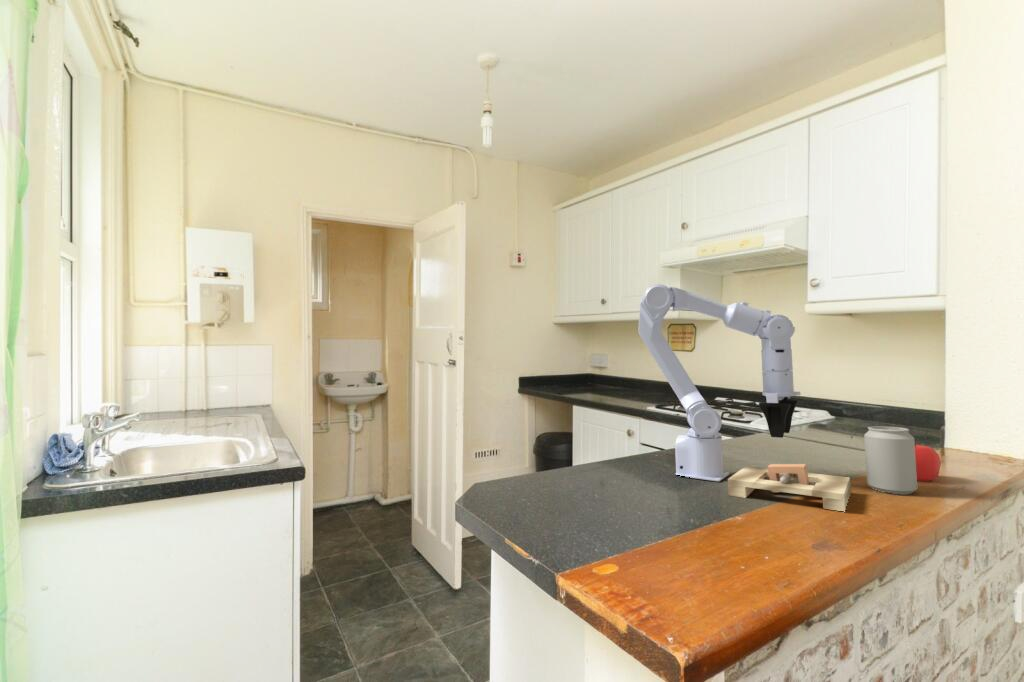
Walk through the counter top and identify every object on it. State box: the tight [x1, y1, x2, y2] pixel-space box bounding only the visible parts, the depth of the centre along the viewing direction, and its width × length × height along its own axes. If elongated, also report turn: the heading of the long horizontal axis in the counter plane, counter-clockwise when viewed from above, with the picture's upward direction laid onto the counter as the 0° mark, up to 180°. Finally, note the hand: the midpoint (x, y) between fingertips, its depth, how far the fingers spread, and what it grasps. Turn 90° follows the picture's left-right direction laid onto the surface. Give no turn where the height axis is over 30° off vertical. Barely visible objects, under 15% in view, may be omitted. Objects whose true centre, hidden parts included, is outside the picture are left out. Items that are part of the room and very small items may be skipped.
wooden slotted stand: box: [727, 465, 852, 513], centre depth 88 cm, size 18×14×4 cm
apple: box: [914, 439, 942, 482], centre depth 98 cm, size 8×8×8 cm
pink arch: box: [766, 463, 811, 493], centre depth 88 cm, size 6×3×5 cm, turn 52°
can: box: [863, 425, 918, 496], centre depth 90 cm, size 8×8×12 cm
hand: (780, 434), depth 100 cm, fingers open, 7 cm apart
